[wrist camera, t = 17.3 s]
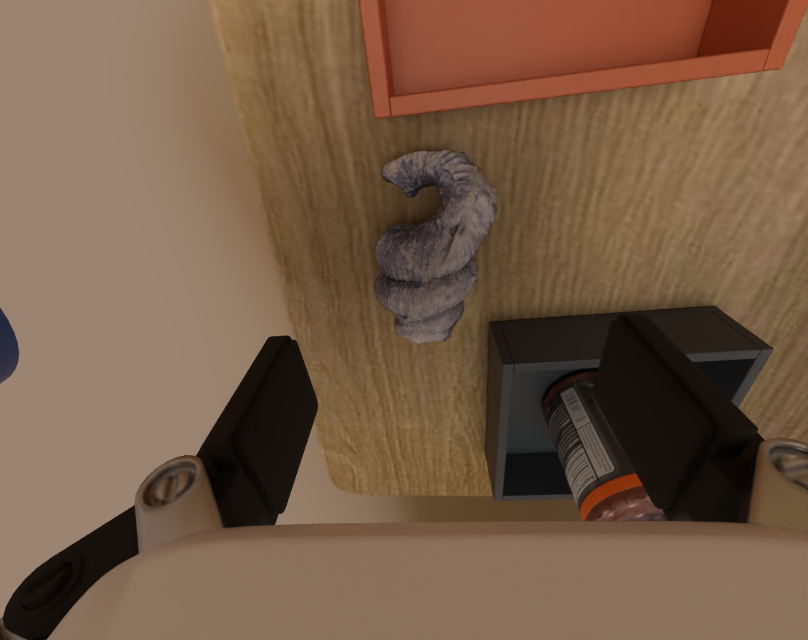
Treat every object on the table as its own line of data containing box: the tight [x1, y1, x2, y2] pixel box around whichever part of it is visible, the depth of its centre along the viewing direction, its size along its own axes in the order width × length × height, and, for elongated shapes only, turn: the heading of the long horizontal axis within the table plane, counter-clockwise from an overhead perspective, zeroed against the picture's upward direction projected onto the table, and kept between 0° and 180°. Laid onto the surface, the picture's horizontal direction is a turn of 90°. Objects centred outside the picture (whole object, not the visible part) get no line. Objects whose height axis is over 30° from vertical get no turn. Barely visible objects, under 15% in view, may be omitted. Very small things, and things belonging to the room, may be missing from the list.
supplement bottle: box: [542, 371, 668, 521], centre depth 19 cm, size 6×6×11 cm
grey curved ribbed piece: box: [374, 149, 498, 344], centre depth 17 cm, size 5×5×10 cm
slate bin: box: [485, 306, 774, 501], centre depth 23 cm, size 13×13×4 cm
